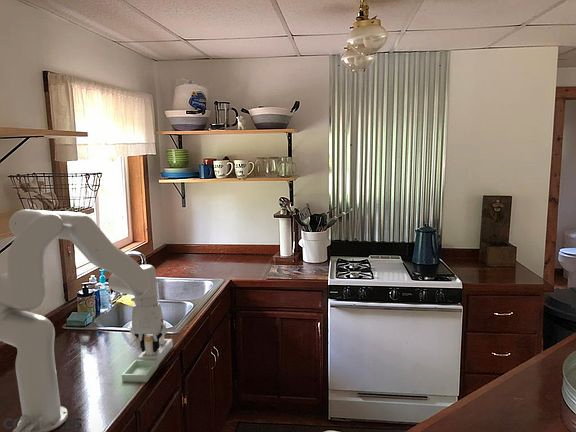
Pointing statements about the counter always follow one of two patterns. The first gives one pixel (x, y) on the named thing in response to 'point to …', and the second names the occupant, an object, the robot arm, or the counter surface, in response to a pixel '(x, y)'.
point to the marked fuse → (149, 345)
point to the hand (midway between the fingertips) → (150, 349)
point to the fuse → (161, 340)
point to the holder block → (158, 352)
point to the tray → (140, 371)
